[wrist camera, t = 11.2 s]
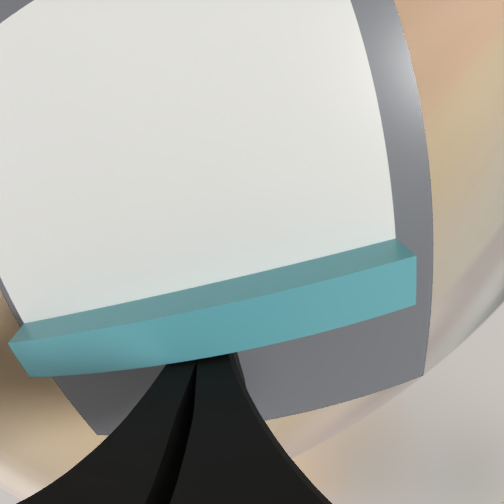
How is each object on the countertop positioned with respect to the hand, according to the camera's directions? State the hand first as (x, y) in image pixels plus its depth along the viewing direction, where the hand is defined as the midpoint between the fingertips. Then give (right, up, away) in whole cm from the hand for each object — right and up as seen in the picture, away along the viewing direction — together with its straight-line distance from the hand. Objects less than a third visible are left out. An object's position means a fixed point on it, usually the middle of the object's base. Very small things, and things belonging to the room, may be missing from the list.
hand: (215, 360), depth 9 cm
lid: (-1, +6, -2) cm, 6 cm away
